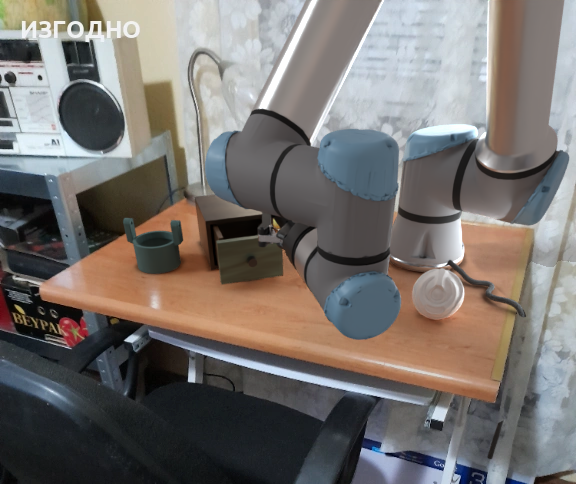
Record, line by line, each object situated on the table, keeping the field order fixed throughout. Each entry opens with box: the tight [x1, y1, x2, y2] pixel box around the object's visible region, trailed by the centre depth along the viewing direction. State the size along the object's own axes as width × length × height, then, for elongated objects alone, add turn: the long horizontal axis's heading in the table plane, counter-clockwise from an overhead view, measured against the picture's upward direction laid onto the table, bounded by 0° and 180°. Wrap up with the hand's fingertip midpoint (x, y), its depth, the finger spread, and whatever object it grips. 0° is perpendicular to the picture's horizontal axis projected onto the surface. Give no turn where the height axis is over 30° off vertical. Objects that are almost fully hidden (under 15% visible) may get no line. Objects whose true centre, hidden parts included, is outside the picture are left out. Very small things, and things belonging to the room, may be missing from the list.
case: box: [194, 193, 275, 271], centre depth 104 cm, size 14×13×10 cm
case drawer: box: [210, 218, 284, 286], centre depth 97 cm, size 14×11×8 cm
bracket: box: [122, 217, 184, 275], centre depth 100 cm, size 9×9×9 cm
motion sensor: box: [411, 268, 465, 321], centre depth 84 cm, size 8×8×8 cm
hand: (273, 193), depth 83 cm, fingers closed
